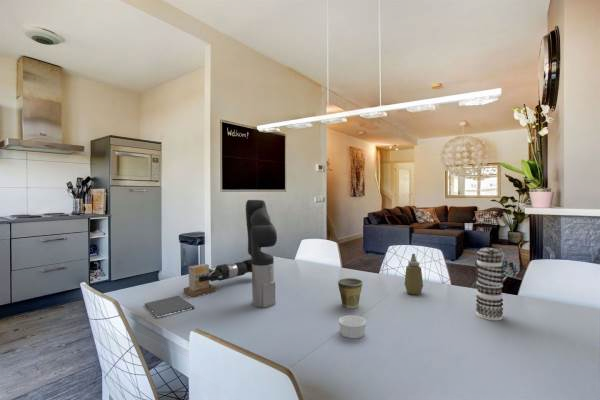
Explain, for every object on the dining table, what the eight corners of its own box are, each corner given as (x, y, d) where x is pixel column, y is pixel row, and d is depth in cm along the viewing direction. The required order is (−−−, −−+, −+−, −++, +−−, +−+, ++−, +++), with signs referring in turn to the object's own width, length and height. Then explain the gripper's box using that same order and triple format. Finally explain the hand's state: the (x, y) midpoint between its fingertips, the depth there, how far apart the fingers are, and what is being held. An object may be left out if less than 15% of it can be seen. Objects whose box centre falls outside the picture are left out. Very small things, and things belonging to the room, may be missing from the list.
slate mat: (194, 308, 125) (194, 306, 125) (157, 318, 115) (157, 315, 115) (178, 297, 138) (178, 295, 138) (144, 305, 129) (144, 303, 129)
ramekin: (347, 325, 107) (347, 313, 107) (370, 332, 102) (370, 319, 101) (333, 334, 100) (333, 321, 100) (357, 342, 95) (357, 328, 95)
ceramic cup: (362, 310, 120) (362, 285, 119) (337, 309, 122) (337, 284, 121) (362, 299, 132) (362, 276, 132) (339, 298, 134) (339, 275, 134)
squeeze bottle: (420, 290, 143) (420, 252, 143) (425, 295, 135) (425, 255, 135) (402, 289, 144) (402, 252, 144) (406, 295, 136) (406, 255, 136)
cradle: (215, 292, 145) (215, 286, 145) (190, 297, 138) (190, 292, 137) (207, 287, 152) (207, 282, 152) (183, 293, 144) (183, 288, 144)
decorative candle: (490, 322, 108) (490, 252, 107) (469, 312, 116) (469, 247, 116) (510, 319, 110) (510, 250, 109) (488, 309, 119) (488, 246, 118)
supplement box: (194, 296, 140) (194, 267, 140) (188, 294, 143) (188, 266, 143) (209, 291, 147) (209, 264, 146) (203, 289, 149) (203, 263, 149)
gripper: (220, 261, 159) (189, 267, 149) (233, 266, 149) (201, 272, 138) (220, 276, 159) (189, 282, 149) (233, 281, 149) (201, 289, 138)
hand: (195, 277), depth 143 cm, fingers open, 8 cm apart
